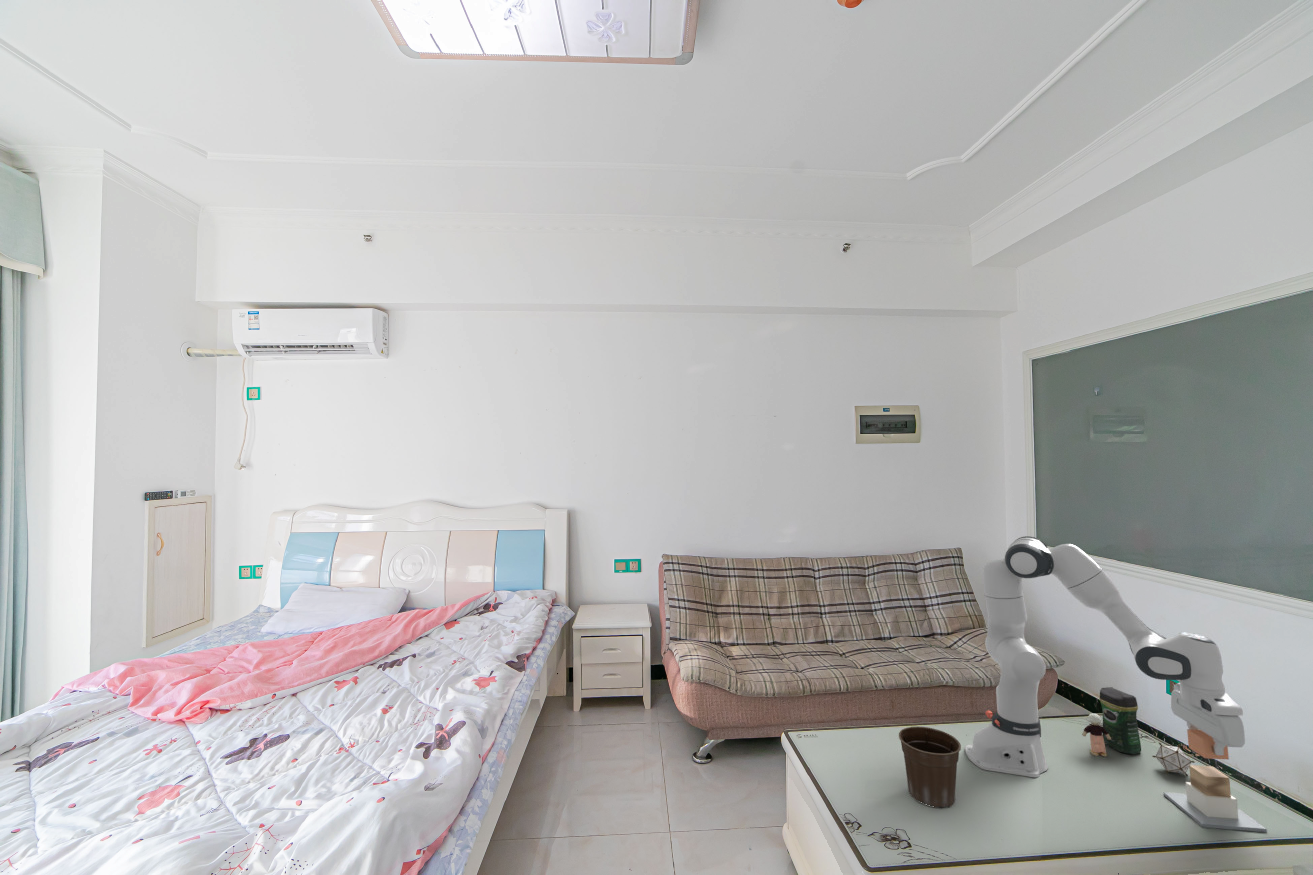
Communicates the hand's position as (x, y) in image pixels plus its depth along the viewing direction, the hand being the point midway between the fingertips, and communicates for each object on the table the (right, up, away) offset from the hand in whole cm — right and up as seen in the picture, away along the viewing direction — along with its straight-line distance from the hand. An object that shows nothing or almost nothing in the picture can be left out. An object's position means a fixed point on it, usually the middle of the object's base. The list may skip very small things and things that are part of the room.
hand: (1207, 747), depth 148 cm
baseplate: (0, -17, -1) cm, 17 cm away
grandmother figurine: (-6, -19, +30) cm, 36 cm away
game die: (+8, -18, +18) cm, 27 cm away
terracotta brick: (0, -2, 0) cm, 2 cm away
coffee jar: (+5, -19, +33) cm, 38 cm away
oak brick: (0, -11, -1) cm, 11 cm away
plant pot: (-70, -20, +10) cm, 73 cm away
